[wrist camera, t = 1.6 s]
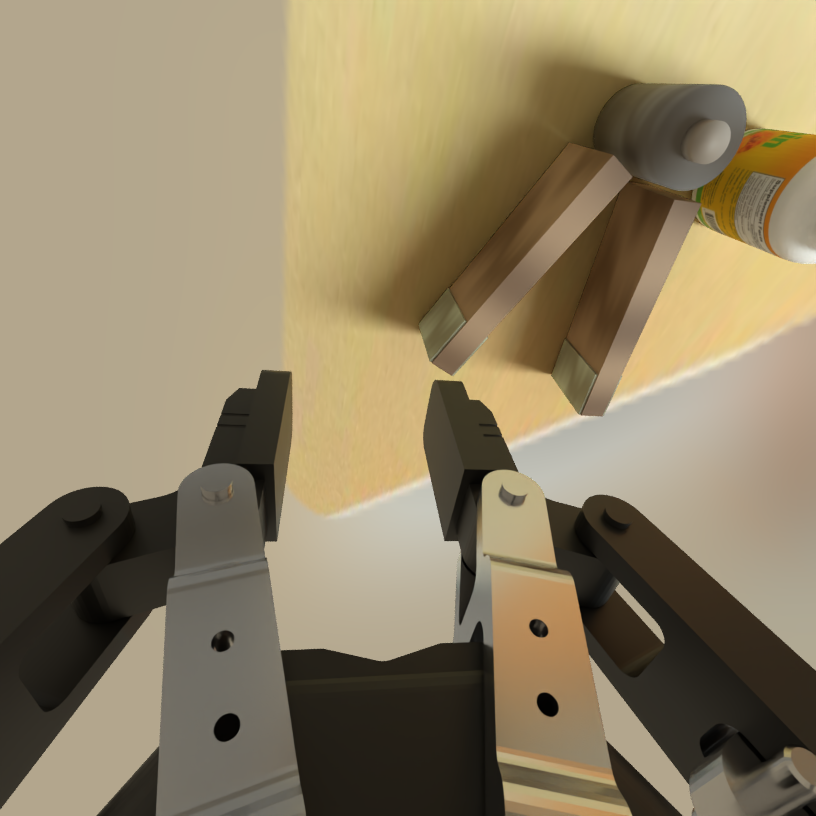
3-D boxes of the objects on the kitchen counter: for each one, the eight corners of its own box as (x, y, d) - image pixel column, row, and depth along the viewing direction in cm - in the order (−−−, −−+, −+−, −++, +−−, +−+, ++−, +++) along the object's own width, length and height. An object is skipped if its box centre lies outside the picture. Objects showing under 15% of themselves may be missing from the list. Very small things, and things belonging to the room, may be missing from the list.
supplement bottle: (798, 125, 26) (998, 145, 18) (757, 225, 29) (913, 280, 21) (707, 129, 25) (870, 152, 17) (676, 231, 28) (803, 289, 21)
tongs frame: (610, 77, 23) (692, 76, 18) (686, 91, 24) (788, 95, 19) (517, 372, 33) (551, 431, 28) (573, 376, 34) (617, 433, 28)
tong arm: (567, 140, 25) (611, 152, 21) (588, 163, 25) (634, 179, 21) (418, 323, 30) (429, 361, 26) (438, 337, 31) (453, 377, 27)
